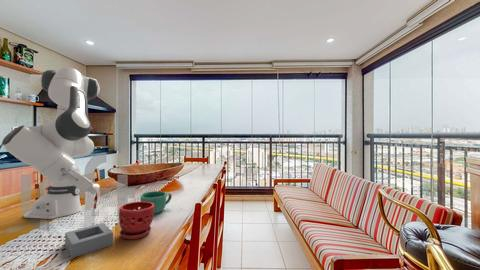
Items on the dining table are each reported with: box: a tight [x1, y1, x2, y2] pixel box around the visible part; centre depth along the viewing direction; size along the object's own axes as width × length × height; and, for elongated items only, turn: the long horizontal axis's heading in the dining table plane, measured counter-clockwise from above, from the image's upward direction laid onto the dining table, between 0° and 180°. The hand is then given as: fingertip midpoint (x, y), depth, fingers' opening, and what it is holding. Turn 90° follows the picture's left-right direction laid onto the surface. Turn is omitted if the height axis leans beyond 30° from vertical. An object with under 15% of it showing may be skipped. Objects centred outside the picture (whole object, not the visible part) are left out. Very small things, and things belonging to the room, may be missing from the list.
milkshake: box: [84, 183, 101, 211], centre depth 76 cm, size 4×5×10 cm
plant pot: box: [118, 201, 155, 240], centre depth 85 cm, size 13×13×12 cm
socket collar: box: [64, 222, 114, 259], centre depth 76 cm, size 12×12×4 cm
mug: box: [140, 190, 172, 215], centre depth 111 cm, size 17×13×10 cm
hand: (93, 191), depth 76 cm, fingers closed on milkshake, 4 cm apart
